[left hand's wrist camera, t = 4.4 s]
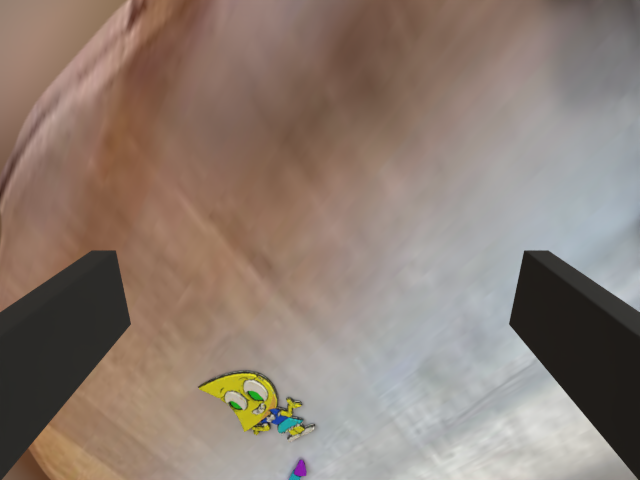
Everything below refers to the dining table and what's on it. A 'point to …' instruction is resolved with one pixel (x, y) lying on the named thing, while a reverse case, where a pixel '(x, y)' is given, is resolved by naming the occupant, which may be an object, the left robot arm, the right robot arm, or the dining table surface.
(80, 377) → the left robot arm
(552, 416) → the dining table surface
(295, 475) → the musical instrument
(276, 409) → the toy
